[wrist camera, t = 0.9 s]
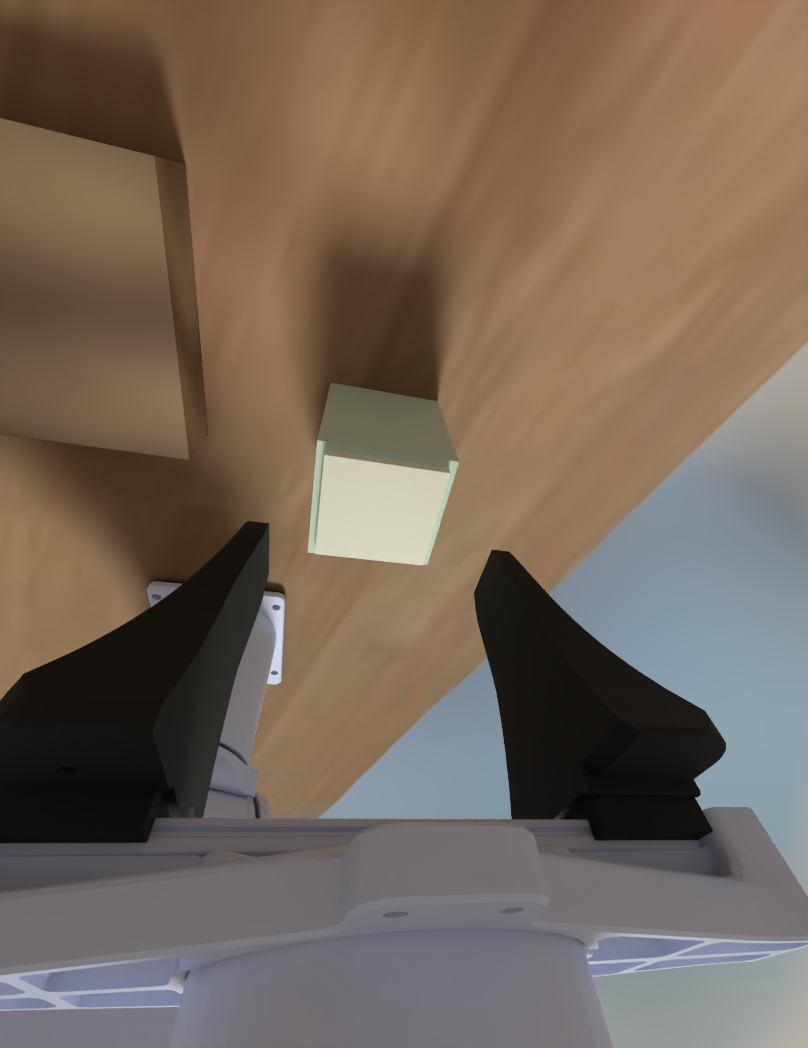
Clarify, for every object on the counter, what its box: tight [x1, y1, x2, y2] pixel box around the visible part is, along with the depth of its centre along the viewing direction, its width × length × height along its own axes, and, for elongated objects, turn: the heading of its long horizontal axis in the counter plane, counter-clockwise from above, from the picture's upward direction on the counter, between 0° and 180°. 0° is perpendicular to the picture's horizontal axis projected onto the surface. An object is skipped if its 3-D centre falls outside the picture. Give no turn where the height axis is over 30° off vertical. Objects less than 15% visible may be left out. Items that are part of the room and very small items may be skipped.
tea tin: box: [308, 383, 459, 565], centre depth 18 cm, size 5×5×6 cm
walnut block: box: [0, 118, 208, 460], centre depth 15 cm, size 10×10×3 cm
